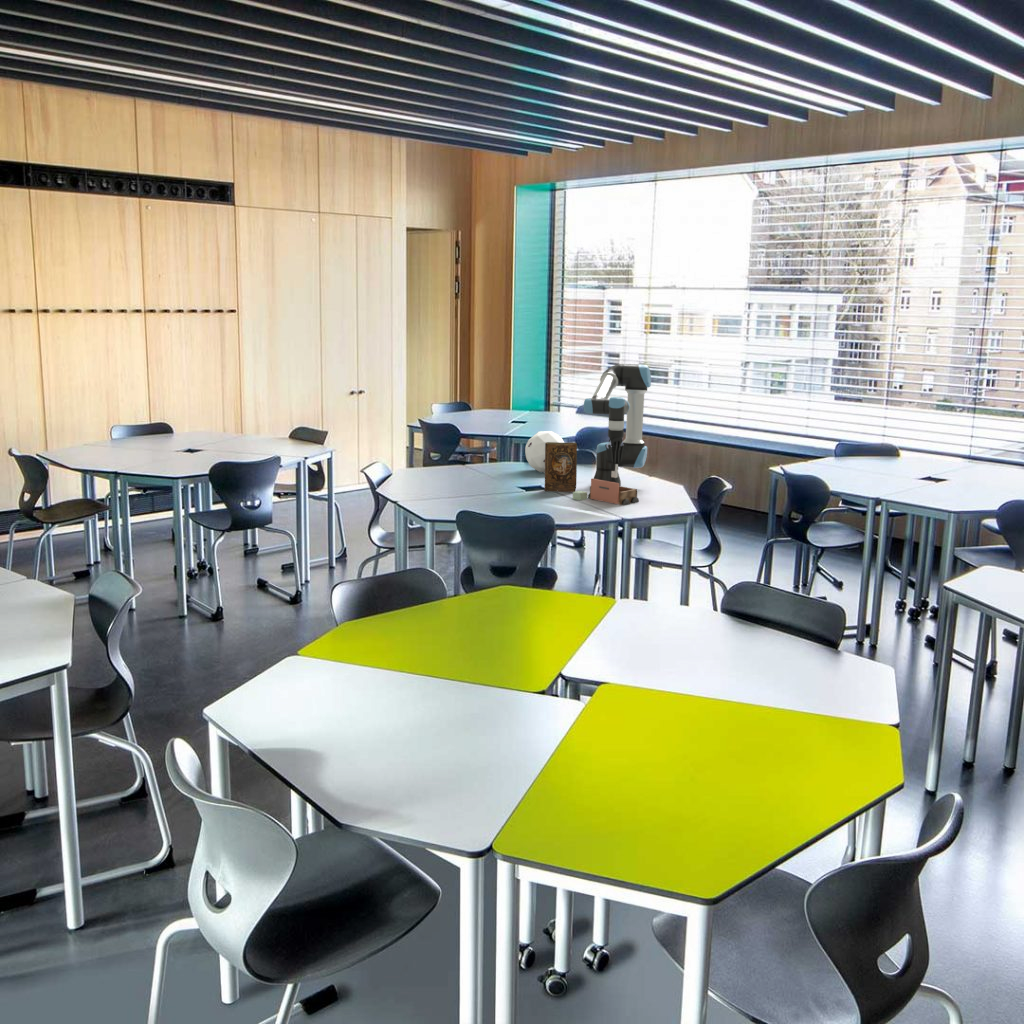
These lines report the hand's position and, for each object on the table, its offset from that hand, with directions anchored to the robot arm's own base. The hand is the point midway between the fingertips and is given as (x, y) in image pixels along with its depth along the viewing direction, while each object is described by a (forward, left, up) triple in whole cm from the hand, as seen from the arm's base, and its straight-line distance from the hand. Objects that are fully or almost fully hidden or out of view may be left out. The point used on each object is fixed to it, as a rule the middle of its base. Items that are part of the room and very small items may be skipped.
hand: (614, 477), depth 483 cm
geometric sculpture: (-65, -65, -13) cm, 93 cm away
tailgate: (+6, -3, -11) cm, 13 cm away
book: (-16, -35, -13) cm, 41 cm away
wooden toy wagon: (0, 0, -13) cm, 13 cm away
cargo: (+5, -16, -13) cm, 21 cm away
